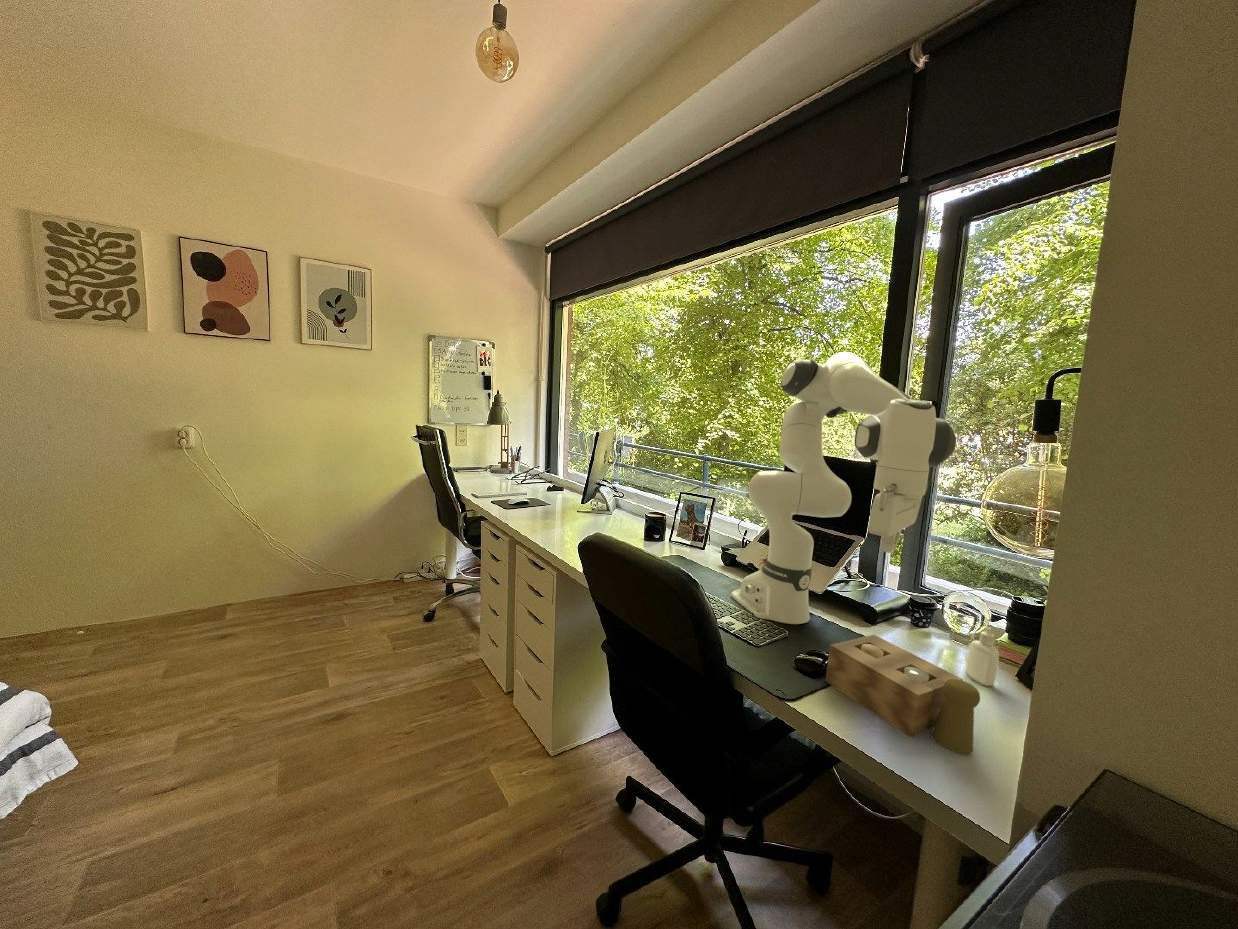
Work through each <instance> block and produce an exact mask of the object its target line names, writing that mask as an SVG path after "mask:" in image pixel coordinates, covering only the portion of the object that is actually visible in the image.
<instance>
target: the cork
mask: <svg viewBox="0 0 1238 929" xmlns="http://www.w3.org/2000/svg"><path fill="white" fill-rule="evenodd" d="M943 694H944V696H945V699H944V702H943V704H942V707H941V710H940V712H939V715H938V717H937V720H936V723H935V725H934V728H932V731H931V738H932V740H933V741H934V742H935V743H936V744H937V745H938V746H941V747H942V748H943V749H945V750H947V751H949V752H952V753H954V754H958V755H961V756H968V755H972V754H973V752H974V721H975V720H974V719H975V718H974V717H975V708H977V707H978V705H979V703H980V700H981V695H980V692H979V689H977V688H976V687H975V686H974V685H973V684H971V683H969V682H967V681H964V680H963V681H962V680H959V679H949V680H947V681H946V682H945V683H944V685H943Z"/></svg>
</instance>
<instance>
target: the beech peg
mask: <svg viewBox="0 0 1238 929" xmlns="http://www.w3.org/2000/svg"><path fill="white" fill-rule="evenodd" d="M861 650H862V651H863V652H865V653H867V654H869V655H871V656H873V657H874V658H879V657H883V653H884V652H883V650H882V649H881V648H879V647H877V646H874V645H870V644H863V645H862V647H861Z"/></svg>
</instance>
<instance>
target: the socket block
mask: <svg viewBox="0 0 1238 929" xmlns="http://www.w3.org/2000/svg"><path fill="white" fill-rule="evenodd" d="M863 644H870V645H874V646H877V647H879V648H881V649H882V650H883V652H884V653H883V657H879V658H874V657H873V656H871V655H869V654H867V653H865V652H863V651H862V650H861V647H862V645H863ZM905 667H915V668H918V669H921V670H923V671H925V672H926V673H927V674H928V675H929V680H928V682H925V683H920V682H918V681H916V680H915V679H913V678H911V677H909V676H907V675H906V674H904V668H905ZM949 679H959V680H962V681H964V680H963V678H962V677H959V676H958V675H955V674H953V673H951V672H949V671H948V670H945V669H943V668H941V667H939V666H937V665H935V664H933V663H931V662H929V661H928V660H926V659H924V658H922V657H920V656H917V655H915V654H913V653H911V652H910V651H908V650H905V649H903V648H901V647H899V646H898V645H896V644H894V643H891V642H889V641H887V640H885V639H883V638H882V637H879V636H878V635H876V634H870V635H866V636H862V637H857V638H854V639H848V640H845V641H841V642H836V643H832V644H830V646H829V653H828V659H827V666H826V672H825V680H826V681H827V682H828V683H827V682H826V681H825V682H826V683H827V684H829V685H830V686H832V687H833V688H835V689H836V690H838V691H840V692H841V693H842V694H845V695H846V696H847V697H848V698H850V699H852V700H853V701H855V702H856V703H858V704H860V705H861V706H863V707H864V708H866V709H867V710H868V711H870V712H871V713H873V714H875V715H876V716H878V717H879V718H881V719H883V720H884V721H885V722H887V723H888V724H890V725H891V726H893V727H894V728H896V729H898V730H899V731H900V732H902V733H904V734H905V735H907V736H908V737H910V738H913V737H915V736H918V735H920V734H923V733H926V732H927V731H929V730H933V728H934V725H935V723H936V720H937V717H938V715H939V712H940V710H941V707H942V704H943V702H944V699H945V696H944V694H943V685H944V683H945V682H946V681H947V680H949Z"/></svg>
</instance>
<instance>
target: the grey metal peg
mask: <svg viewBox="0 0 1238 929" xmlns="http://www.w3.org/2000/svg"><path fill="white" fill-rule="evenodd" d="M904 674H906V675H907V676H909V677H911V678H913V679H915V680H916V681H918V682H920V683H925V682H928V680H929V675H928V674H927V673H926V672H925V671H923V670H921V669H918V668H915V667H905V668H904Z"/></svg>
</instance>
